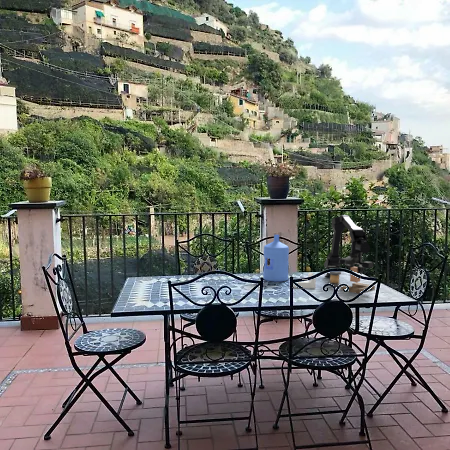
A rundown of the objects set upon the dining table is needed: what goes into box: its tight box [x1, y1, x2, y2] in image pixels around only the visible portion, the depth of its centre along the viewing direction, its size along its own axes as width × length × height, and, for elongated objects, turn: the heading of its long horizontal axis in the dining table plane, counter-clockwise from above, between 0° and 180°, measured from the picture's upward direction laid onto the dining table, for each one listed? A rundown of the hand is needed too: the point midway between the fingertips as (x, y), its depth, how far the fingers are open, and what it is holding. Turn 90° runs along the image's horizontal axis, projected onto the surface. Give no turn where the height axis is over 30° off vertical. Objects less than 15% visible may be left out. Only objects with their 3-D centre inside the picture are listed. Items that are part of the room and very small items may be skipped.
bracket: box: [293, 272, 317, 289], centre depth 250 cm, size 13×7×8 cm, turn 93°
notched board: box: [340, 282, 376, 295], centre depth 244 cm, size 12×17×2 cm
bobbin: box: [329, 271, 342, 287], centre depth 254 cm, size 7×7×8 cm
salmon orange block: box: [349, 266, 361, 283], centre depth 245 cm, size 4×4×8 cm
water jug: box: [262, 234, 290, 283], centre depth 268 cm, size 16×16×28 cm
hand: (355, 277), depth 245 cm, fingers closed on salmon orange block, 4 cm apart
